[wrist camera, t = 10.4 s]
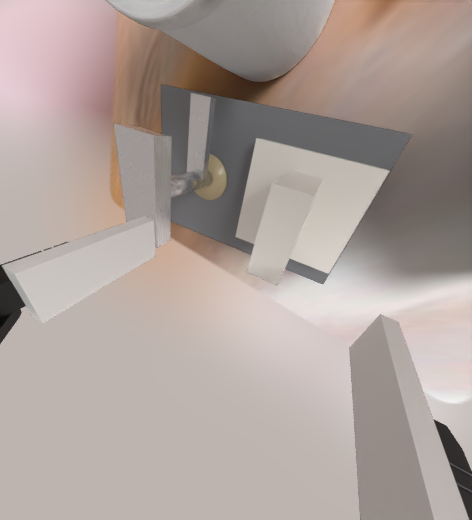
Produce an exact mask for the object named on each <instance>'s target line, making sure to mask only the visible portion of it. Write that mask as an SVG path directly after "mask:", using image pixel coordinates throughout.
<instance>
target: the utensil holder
mask: <svg viewBox="0 0 472 520" xmlns="http://www.w3.org/2000/svg"><path fill="white" fill-rule="evenodd" d="M106 1H107V2H108V3H109V4H110V5H112V6H113V7H114V8H115V9H116V10H118V11H119V12H121V13H122V14H124V15H125V16H127V17H128V18H130V19H132V20H134V21H136V22H138V23H140V24H142V25H144V26H147V27H150V28H154V29H159V30H161V31H162V32H164V33H165V34H167V35H169V36H170V37H172V38H174V39H175V40H177V41H179V42H180V43H182V44H184V45H185V46H187V47H189V48H190V49H192V50H194V51H195V52H197V53H199V54H200V55H202V56H204V57H205V58H207V59H209V60H210V61H212V62H214V63H216V64H217V65H219V66H221V67H223V68H224V69H226V70H228V71H230V72H232V73H234V74H236V75H238V76H240V77H242V78H244V79H247V80H249V81H254V82H265V81H270V80H273V79H275V78H278V77H280V76H282V75H284V74H285V73H287V72H288V71H290V70H291V69H292V68H293V67H295V66H296V65H297V64H298V63H299V62H300V61H301V60H302V59H303V58H304V56H305V55H306V54H307V53H308V52H309V50H310V49H311V48H312V46H313V45H314V43H315V42H316V40H317V39H318V37H319V35H320V33H321V32H322V30H323V28H324V26H325V24H326V22H327V19H328V17H329V15H330V12H331V10H332V7H333V4H334V1H335V0H106Z"/></svg>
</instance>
